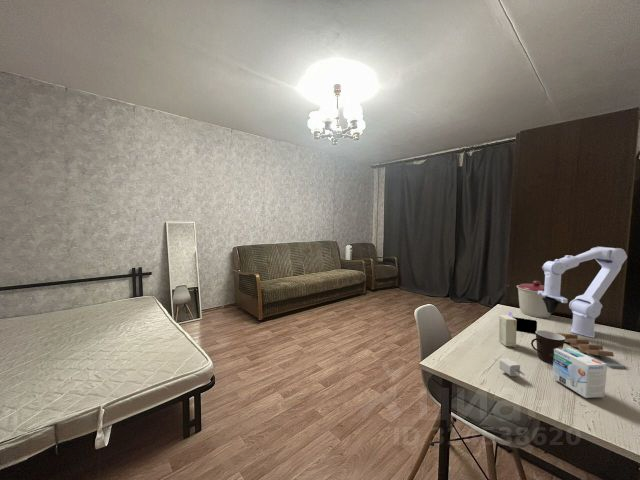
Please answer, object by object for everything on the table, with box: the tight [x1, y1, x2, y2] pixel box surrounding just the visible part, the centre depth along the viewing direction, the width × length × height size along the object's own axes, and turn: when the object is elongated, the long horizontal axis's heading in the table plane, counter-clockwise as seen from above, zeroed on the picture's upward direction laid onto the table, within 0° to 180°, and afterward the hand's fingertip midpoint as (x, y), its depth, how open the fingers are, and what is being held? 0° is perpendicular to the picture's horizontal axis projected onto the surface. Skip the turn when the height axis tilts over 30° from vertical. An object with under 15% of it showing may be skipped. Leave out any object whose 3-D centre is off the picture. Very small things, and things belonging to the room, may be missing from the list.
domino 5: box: [586, 353, 626, 370], centre depth 96 cm, size 2×5×9 cm
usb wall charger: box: [499, 358, 525, 377], centre depth 88 cm, size 4×7×4 cm, turn 7°
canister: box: [516, 280, 552, 319], centre depth 145 cm, size 18×18×21 cm
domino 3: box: [569, 342, 604, 351], centre depth 104 cm, size 2×5×9 cm
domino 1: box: [556, 332, 579, 339], centre depth 114 cm, size 2×5×9 cm
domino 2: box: [564, 338, 590, 344], centre depth 110 cm, size 2×5×9 cm
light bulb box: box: [551, 347, 608, 399], centre depth 81 cm, size 11×7×11 cm, turn 5°
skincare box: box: [498, 314, 517, 347], centre depth 111 cm, size 6×4×12 cm
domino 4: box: [578, 348, 615, 358], centre depth 99 cm, size 2×5×9 cm
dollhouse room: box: [508, 311, 538, 335], centre depth 128 cm, size 12×12×7 cm
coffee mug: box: [530, 329, 565, 364], centre depth 99 cm, size 12×9×10 cm
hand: (550, 312), depth 121 cm, fingers closed
